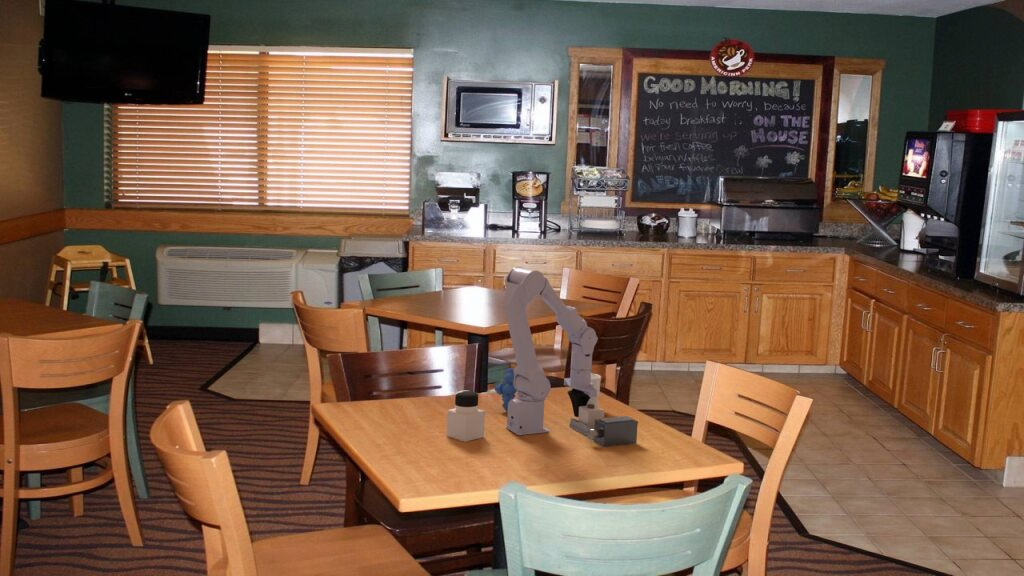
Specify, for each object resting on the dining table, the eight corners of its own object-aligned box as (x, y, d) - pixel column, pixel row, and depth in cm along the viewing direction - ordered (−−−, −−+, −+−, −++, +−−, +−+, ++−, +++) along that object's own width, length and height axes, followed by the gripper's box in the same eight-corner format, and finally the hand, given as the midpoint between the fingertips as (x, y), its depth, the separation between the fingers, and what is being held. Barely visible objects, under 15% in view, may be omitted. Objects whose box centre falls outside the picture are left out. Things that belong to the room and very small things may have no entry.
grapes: (495, 403, 287) (497, 363, 285) (518, 404, 287) (520, 365, 285) (491, 413, 276) (493, 372, 274) (515, 415, 275) (517, 374, 273)
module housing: (593, 448, 247) (595, 424, 246) (557, 428, 264) (558, 405, 263) (636, 443, 253) (637, 419, 252) (598, 423, 270) (599, 401, 269)
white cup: (589, 414, 280) (591, 380, 278) (567, 408, 284) (568, 375, 283) (604, 409, 286) (606, 375, 285) (581, 404, 291) (583, 371, 289)
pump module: (587, 429, 260) (588, 408, 260) (577, 424, 265) (578, 403, 264) (603, 427, 263) (604, 406, 262) (593, 422, 267) (594, 401, 266)
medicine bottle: (484, 437, 253) (486, 392, 251) (465, 442, 248) (466, 396, 246) (465, 431, 258) (467, 387, 256) (445, 436, 253) (447, 391, 251)
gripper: (607, 373, 263) (604, 421, 265) (580, 362, 276) (577, 408, 278) (585, 375, 260) (582, 424, 262) (558, 363, 272) (556, 410, 274)
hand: (578, 416), depth 269 cm, fingers closed
